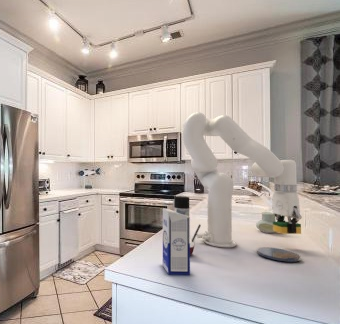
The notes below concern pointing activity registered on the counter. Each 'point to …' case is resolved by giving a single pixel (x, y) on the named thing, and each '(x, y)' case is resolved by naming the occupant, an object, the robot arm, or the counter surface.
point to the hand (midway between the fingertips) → (286, 231)
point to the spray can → (182, 204)
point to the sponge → (285, 228)
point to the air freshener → (266, 222)
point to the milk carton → (176, 242)
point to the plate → (278, 254)
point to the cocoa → (193, 241)
